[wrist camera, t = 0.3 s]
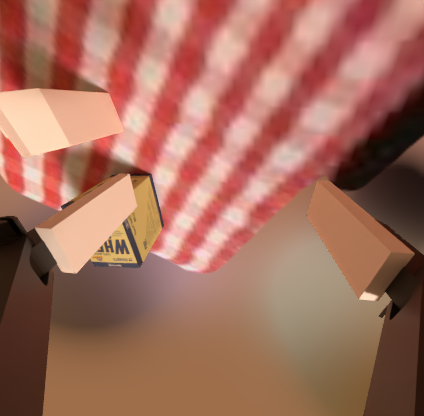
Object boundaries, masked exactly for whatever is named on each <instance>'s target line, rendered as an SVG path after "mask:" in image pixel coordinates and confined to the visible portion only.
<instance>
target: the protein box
mask: <svg viewBox="0 0 424 416" xmlns="http://www.w3.org/2000/svg"><path fill="white" fill-rule="evenodd" d="M115 176H116V175H112V176H110V177H109V178H107V179H106V180H104V181H102V182H101V183H99V184H97V185H96V186H94V187H92V188H91V189H89V190H87V191H86V192H84V193H82V194H81V195H79V196H77V197H76V198H74V199H72V200H71V201H69V202H68V203H66V204H64V205H63V206H61V208H62V210H63V209H64V208H66V207H68V206H69V205H71V204H72V203H74V202H75V201H77V200H79V199H80V198H82V197H83V196H85V195H86V194H88V193H90V192H91V191H93V190H94V189H96V188H97V187H99V186H100V185H102V184H104V183H105V182H107V181H108V180H110V179H111V178H113V177H115ZM130 178H131V182H132V186H133V190H134V195H135V199H136V203H137V207H136V208H135V209H134V211H133V212H132V213H131V214H130V215H129V216H128V217H127V218H126V219H125V220H124V222H123V223H122V224H121V225H120V226H119V227H118V228H117V229H116V230H115V231H114V233H113V234H112V235H111V236H110V237H109V238H108V239H107V240H106V241H105V242H104V244H103V245H102V246H101V247H100V248H99V249H98V250H97V251H96V252H95V253H94V255H93V256H92V257H91V258H90V259H91V261H92V263H93V264H94V266H98V267H127V268H140V266H141V265H142V263H143V261H144V259H145V258H146V256H147V254H148V252H149V251H150V249H151V247H152V245H153V244H154V242H155V240H156V238H157V237H158V235H159V233H160V231H161V230H162V228H163V227H164V224H163V220H162V216H161V211H160V207H159V203H158V199H157V195H156V191H155V187H154V183H153V179H152V175H151V174H135V175H130Z"/></svg>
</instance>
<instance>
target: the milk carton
mask: <svg viewBox="0 0 424 416" xmlns="http://www.w3.org/2000/svg"><path fill="white" fill-rule="evenodd" d="M0 130H1V131H2V133H3V134H4V135H5V137H6V138H8V139H10V141H11V142H12V143H13V145H14V146H15V148H16V149H17V151H18V152H19V153H20V155H21V156H22V157H23V158H25V157H29V156H33V155H37V154H41V153H45V152H49V151H54V150H58V149H62V148H66V147H70V146H74V145H77V144H81V143H84V142H88V141H92V140H95V139H99V138H102V137H106V136H109V135H113V134H117V133H120V132H123V131H124V129H123V127H122V124H121V122H120V119H119V117H118V114H117V112H116V109H115V107H114V104H113V102H112V99H111V97H110V94H109V93H105V92H89V91H73V90H57V89H41V88H34V89H26V90H17V91H8V92H0Z"/></svg>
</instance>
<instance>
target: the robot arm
mask: <svg viewBox="0 0 424 416" xmlns="http://www.w3.org/2000/svg"><path fill="white" fill-rule="evenodd" d="M136 207H137V203H136V199H135V195H134V190H133V186H132V182H131V178H130V174H123V173H119V174H118V175H116V176H115V177H113V178H111V179H110V180H108V181H107V182H105V183H104V184H102V185H100V186H99V187H97V188H96V189H94V190H93V191H91V192H90V193H88V194H86V195H85V196H83V197H82V198H80V199H79V200H77V201H75V202H74V203H72V204H71V205H69V206H68V207H66V208H64V209H63V210H61V211H60V212H58V213H57V214H55V215H54V216H52V217H50V218H49V219H47V220H46V221H44V222H43V223H41V224H39V225H38V226H36V227H35V228H34V229H32V230H31V231H29V232H26V230H25V229H24V227H23V226H22V224H21V223H20V221H19V220H18V218H17V217H15V216H6V217H0V416H42V414H43V402H44V390H45V378H46V366H47V354H48V342H49V330H50V317H51V305H52V293H53V280H54V273H53V271H52V269H51V268H52V267H53V266H55V265H56V264H58V266H59V268H60V269H61V271H62V272H67V273H77V272H78V271H79V270H80V269H81V268H82V267H83V266H84V264H85V263H86V262H87V261H88V260H89V259H90V258H91V257H92V256H93V255H94V253H95V252H96V251H97V250H98V249H99V248H100V247H101V246H102V245H103V244H104V242H105V241H106V240H107V239H108V238H109V237H110V236H111V235H112V234H113V233H114V231H115V230H116V229H117V228H118V227H119V226H120V225H121V224H122V223H123V222H124V220H125V219H126V218H127V217H128V216H129V215H130V214H131V213H132V212H133V211H134V209H135V208H136ZM307 217H308V219H309V220H310V222H311V223H312V225H313V227H314V228H315V230H316V231H317V233H318V235H319V236H320V238H321V239H322V241H323V243H324V244H325V246H326V247H327V249H328V251H329V252H330V254H331V255H332V257H333V259H334V260H335V262H336V263H337V265H338V267H339V268H340V270H341V271H342V273H343V275H344V276H345V277H346V279H347V281H348V282H349V284H350V286H351V287H352V289H353V290H354V292H355V294H356V295H357V297H358V298H359V299H363V300H374V301H378V300H379V299H380V298H381V297H382V295H383V294H384V293H385V292H386V293H387V294H388V295H389V297H390V298H391V299H392V301H391V302H390V303H389V304H388V305H387V306H386V308H385V309H384V310H383V311H382V312H381V314H380V315H379V317H381V318H382V317H383V316H384V315H385V319H384V324H383V328H382V333H381V337H380V342H379V346H378V351H377V356H376V360H375V365H374V369H373V374H372V378H371V383H370V388H369V392H368V397H367V401H366V406H365V410H364V415H363V416H424V255H423V254H422V253H420V252H419V251H418V250H417V249H416V248H414V247H413V246H412V245H410V244H409V243H408V242H407V241H406V240H403V238H402V237H401V236H400V235H398V234H396V232H395V231H394V230H392V229H391V228H390V227H389V226H387V225H386V224H384V223H382V222H380V221H378V220H376V219H374V218H372V217H371V216H370V215H369V214H368V213H367V212H365V211H364V210H363V209H362V208H360V207H359V206H358V205H357V204H356V203H355V202H354V201H352V200H351V199H350V198H349V197H348V196H347V195H345V194H344V193H343V192H342V191H341V190H339V189H338V188H337V187H336V186H335V185H334V184H332V183H331V182H330V181H317V183H316V187H315V190H314V193H313V196H312V199H311V202H310V206H309V209H308V212H307Z"/></svg>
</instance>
